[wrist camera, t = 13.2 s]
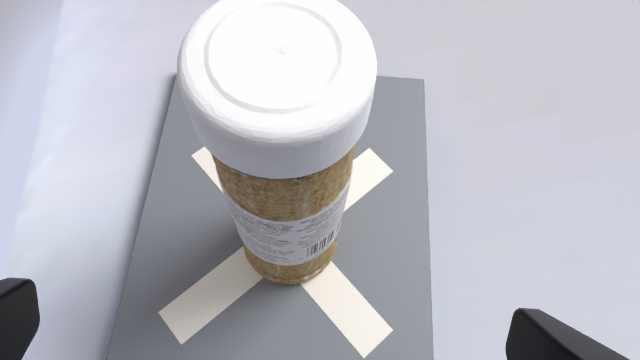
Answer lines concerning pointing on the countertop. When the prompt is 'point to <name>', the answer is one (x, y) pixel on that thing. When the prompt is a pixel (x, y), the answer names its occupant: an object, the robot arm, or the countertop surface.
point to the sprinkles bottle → (280, 121)
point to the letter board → (276, 298)
